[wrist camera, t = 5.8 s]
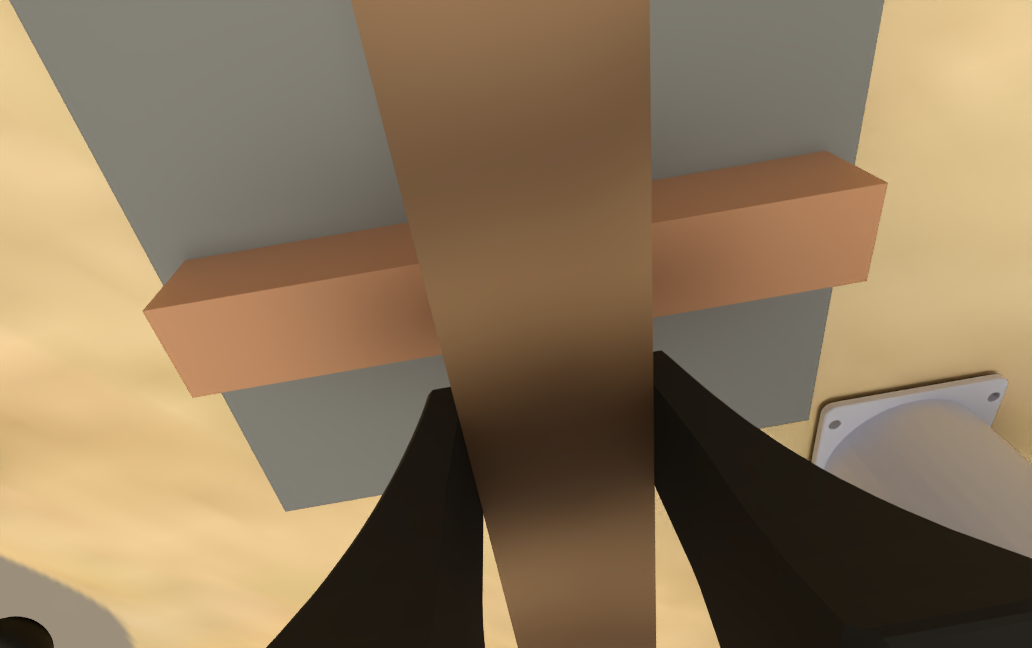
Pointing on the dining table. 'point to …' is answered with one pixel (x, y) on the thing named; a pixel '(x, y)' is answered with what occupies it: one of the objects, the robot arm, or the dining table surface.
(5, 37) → the dining table surface
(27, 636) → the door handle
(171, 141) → the stand
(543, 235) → the walnut beam
